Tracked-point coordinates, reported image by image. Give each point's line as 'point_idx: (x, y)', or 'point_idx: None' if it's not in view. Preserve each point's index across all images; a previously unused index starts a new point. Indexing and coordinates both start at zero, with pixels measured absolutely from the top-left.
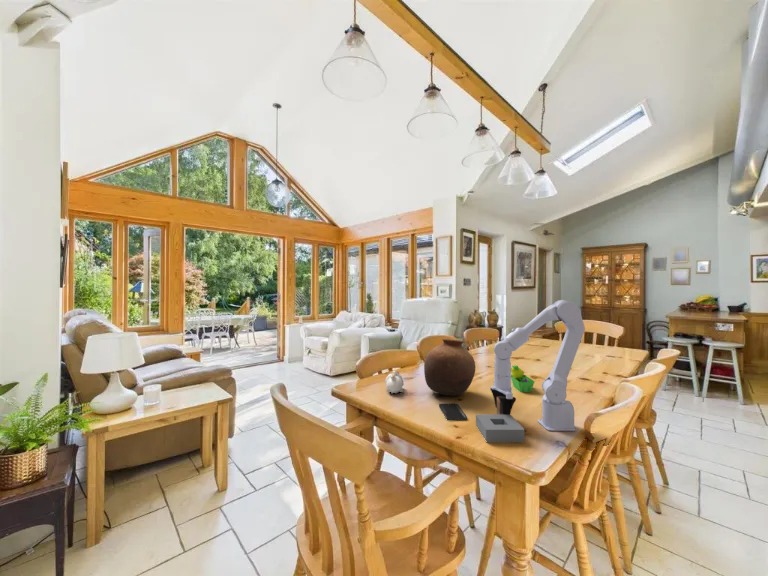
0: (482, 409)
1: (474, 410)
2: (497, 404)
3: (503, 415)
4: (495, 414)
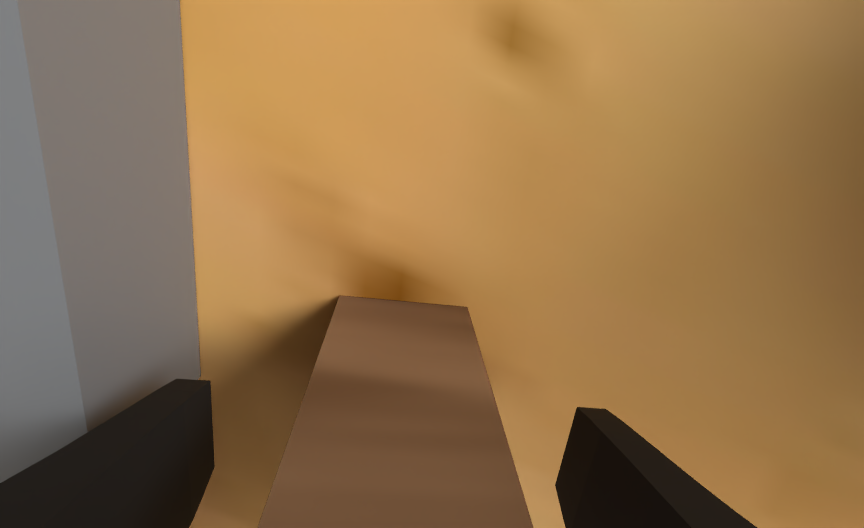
0: (819, 235)
1: (839, 82)
2: (458, 472)
3: (20, 371)
4: (54, 218)
